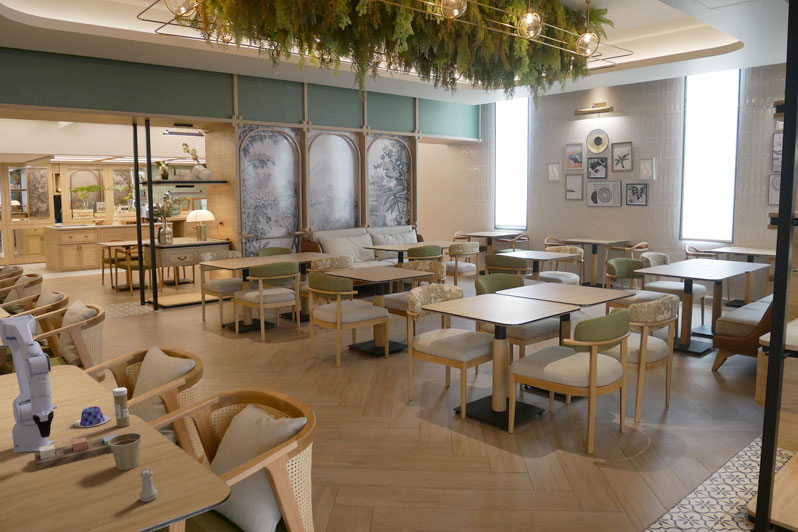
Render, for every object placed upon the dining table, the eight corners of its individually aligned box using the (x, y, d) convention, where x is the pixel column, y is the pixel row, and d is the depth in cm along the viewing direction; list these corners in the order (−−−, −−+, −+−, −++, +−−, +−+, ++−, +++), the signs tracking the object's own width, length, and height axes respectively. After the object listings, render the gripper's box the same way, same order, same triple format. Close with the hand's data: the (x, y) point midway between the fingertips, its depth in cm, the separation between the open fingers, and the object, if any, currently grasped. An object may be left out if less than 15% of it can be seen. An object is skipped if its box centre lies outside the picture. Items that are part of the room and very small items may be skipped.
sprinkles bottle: (131, 425, 221) (127, 389, 219) (117, 428, 218) (113, 392, 216) (128, 421, 224) (125, 386, 223) (115, 424, 222) (111, 388, 220)
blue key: (105, 450, 200) (104, 441, 199) (103, 445, 203) (102, 437, 203) (118, 447, 202) (117, 438, 202) (117, 442, 205) (116, 434, 205)
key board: (36, 469, 188) (35, 463, 187) (35, 459, 195) (34, 453, 195) (125, 449, 201) (124, 443, 200) (120, 439, 208) (120, 434, 208)
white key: (40, 460, 190) (39, 451, 190) (40, 456, 194) (39, 447, 193) (55, 457, 192) (54, 448, 192) (54, 452, 196) (53, 444, 195)
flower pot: (111, 476, 182) (108, 448, 181) (109, 463, 190) (107, 437, 189) (145, 468, 186) (143, 441, 185) (142, 456, 194) (140, 430, 193)
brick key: (73, 453, 195) (72, 444, 195) (72, 448, 198) (71, 440, 198) (87, 449, 197) (86, 441, 197) (86, 445, 200) (85, 437, 200)
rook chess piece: (143, 494, 170) (140, 467, 169) (159, 493, 170) (157, 466, 169) (137, 503, 165) (134, 474, 164) (154, 501, 166) (152, 473, 165)
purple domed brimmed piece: (66, 427, 222) (64, 413, 221) (92, 415, 233) (91, 401, 233) (92, 430, 218) (91, 416, 218) (118, 418, 230) (116, 404, 229)
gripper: (57, 398, 186) (61, 441, 188) (54, 385, 199) (58, 426, 200) (29, 403, 183) (35, 446, 184) (28, 390, 195) (33, 431, 197)
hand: (45, 436), depth 192 cm, fingers closed
